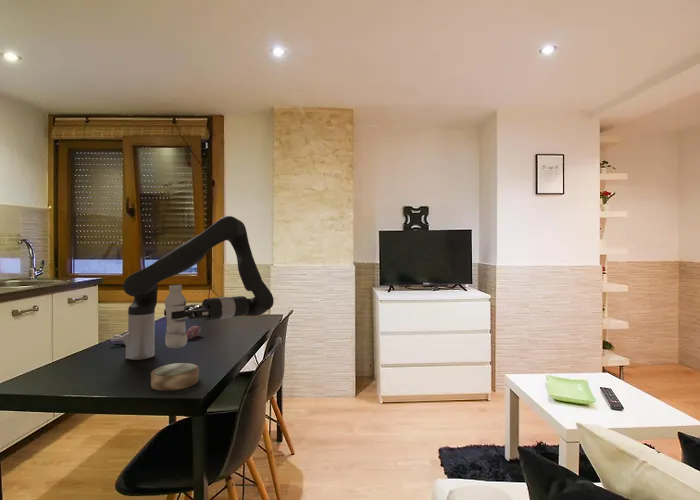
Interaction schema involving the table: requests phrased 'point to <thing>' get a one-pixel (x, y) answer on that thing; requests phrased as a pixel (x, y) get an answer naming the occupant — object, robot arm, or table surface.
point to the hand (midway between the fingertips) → (168, 314)
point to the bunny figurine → (119, 338)
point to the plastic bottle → (175, 327)
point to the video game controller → (193, 331)
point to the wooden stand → (174, 376)
